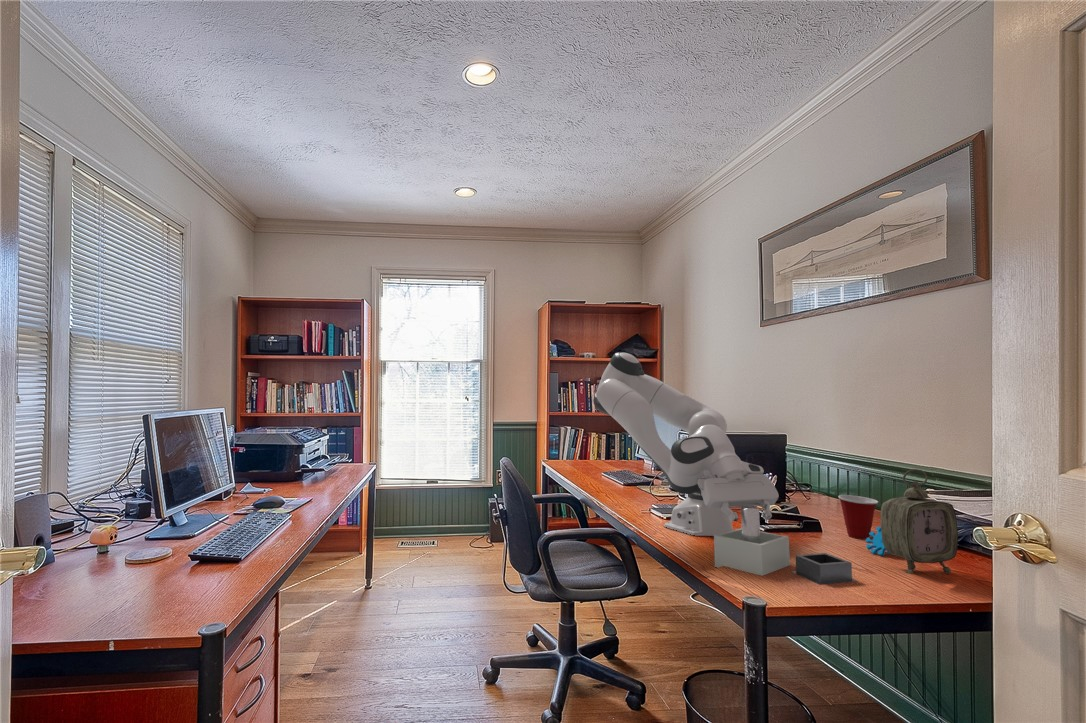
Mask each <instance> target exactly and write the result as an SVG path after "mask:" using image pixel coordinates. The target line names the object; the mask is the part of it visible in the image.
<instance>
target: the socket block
mask: <svg viewBox="0 0 1086 723" xmlns="http://www.w3.org/2000/svg"><path fill="white" fill-rule="evenodd" d="M852 564H853V563H852V561H849V560H846V559H843V558H842V557H841V558H840V557H838V556H836V555H832V554H829V553H827V552H820V553H807V554H795V571H794V570H793V571H792V570H791V573H793V574H795V575H798V576H800V577H801V578H804V579H806V580H809V581H811V582H813V583H814V584H817V585H820V586H822V585H823V586H824V585H830V584H831V585H832V584H842V583H843V584H844V583H853V582H858V580H856V579H854V578H853V569H852V568H853V567H852Z"/></svg>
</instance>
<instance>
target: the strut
mask: <svg viewBox="0 0 1086 723" xmlns="http://www.w3.org/2000/svg"><path fill="white" fill-rule="evenodd" d="M760 517H761V516H760V508H759V507H758V506H745V507H740V520H741V523H740V524H741V527H740V528H742V540H743V541H748V542H753V543H758V544H761V543H760V531H761V525H760V524H761V523H760V521H761V519H760Z"/></svg>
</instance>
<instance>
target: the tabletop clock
mask: <svg viewBox="0 0 1086 723" xmlns="http://www.w3.org/2000/svg"><path fill="white" fill-rule="evenodd" d="M911 473H920V474H922V475H923V476H924V477H925V478H924V479H925V480H924V481H923V482H920V483H919V481H917V480H913V481H912V483H910V482H908V481H906V477H907V476H908V474H911ZM902 481H903V483H904V484H905V485H906V486H908V488H907V489H906V490H905V492H904V493H903V496H900V497H893V498H889V499H887V500H886V501H884V502H882V504H881V507H880V527H881V534H882V541H883V544H884V547H885V549H886V553H887V552H889V553H891V554H892V555H894V556H896V557H897V556H898V557H900V558H903V559H905V561H906V562H907V564H906V565H907V569H906V570H905V574H908V575H913V574H914V572H913V571H914V570H915V569H916V568H917V566H916V565H915V563H918V564H919V563H920V564H936V563H937V564H940V565H941V567H942V572H943V573H944V574H947V575H948V574H950V573H951V572H952V569H951V568H950V567H949V566H946V565H945V564H944V562H948V561H951V560H953V559H954V558H955V557H956V556H957V553H958V548H959V547H958V546H959V545H958V544H959V528H958V522H957V521H958V520H957V513H956V510H955V507H954V505H953V504H951V503H949V502H945V501H940V500H935V499H931V498H930V497H929V495H928V493H927V491H925V490H924V489H923V488H920V487H922V486H924V485H925V484H926V483H927V481H928V475H927V473H926V472H925V471H923V470H922V469H917V468H916V469H909V470H907V471H906V472H904V474H903V476H902ZM909 487H910V488H909ZM929 498H930V499H929ZM891 554H890V555H891Z"/></svg>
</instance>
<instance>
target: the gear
mask: <svg viewBox="0 0 1086 723" xmlns="http://www.w3.org/2000/svg"><path fill="white" fill-rule="evenodd" d="M875 530H876V531H877V532H876V533H875V532H874V531H873V530H871V532H870V533H869V535H870V538H867V539H865V542H866V543H867V544H865V545H866V549H867V550H868V551H870V552H871V554H872V555H874V554H875V555H876V554H878V555H879V556H881V557H884V556H885V552H886V553H887V554H888V555H891V553H889V552H887V550H886V549H885V547H884V544H883V541H882V534H881V526H877V527H875ZM871 537H872V539H871Z"/></svg>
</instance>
